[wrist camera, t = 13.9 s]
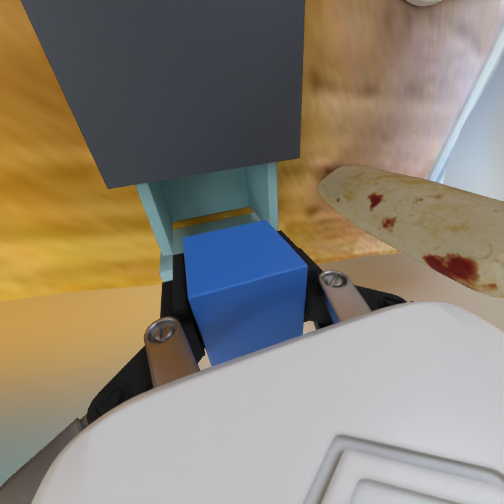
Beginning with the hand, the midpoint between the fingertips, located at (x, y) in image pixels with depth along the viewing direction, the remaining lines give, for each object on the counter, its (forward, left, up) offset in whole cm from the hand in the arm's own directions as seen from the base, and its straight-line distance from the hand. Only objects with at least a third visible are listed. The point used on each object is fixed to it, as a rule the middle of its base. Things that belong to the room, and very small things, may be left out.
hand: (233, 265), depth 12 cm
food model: (-18, +3, -15) cm, 24 cm away
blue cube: (0, 0, 0) cm, 0 cm away
